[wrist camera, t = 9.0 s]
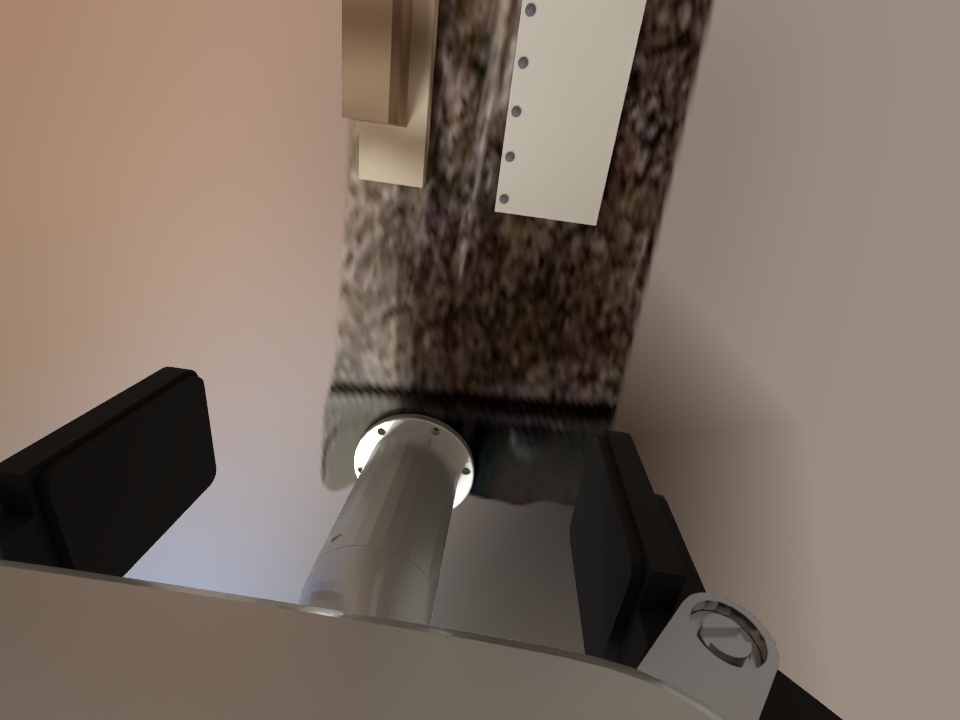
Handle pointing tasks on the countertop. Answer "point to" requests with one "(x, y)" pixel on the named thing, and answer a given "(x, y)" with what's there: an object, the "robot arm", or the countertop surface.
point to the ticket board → (566, 106)
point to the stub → (390, 85)
